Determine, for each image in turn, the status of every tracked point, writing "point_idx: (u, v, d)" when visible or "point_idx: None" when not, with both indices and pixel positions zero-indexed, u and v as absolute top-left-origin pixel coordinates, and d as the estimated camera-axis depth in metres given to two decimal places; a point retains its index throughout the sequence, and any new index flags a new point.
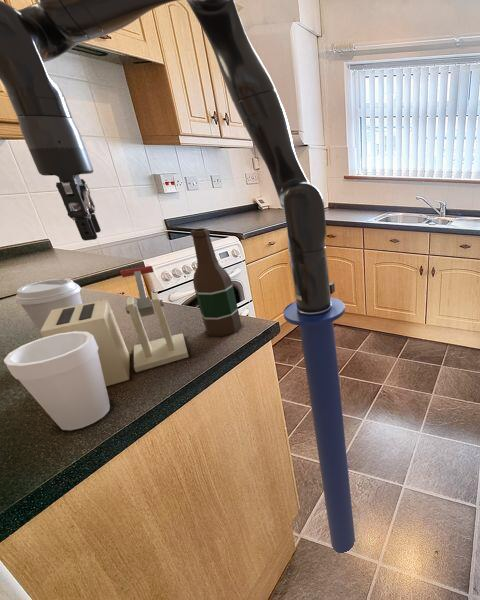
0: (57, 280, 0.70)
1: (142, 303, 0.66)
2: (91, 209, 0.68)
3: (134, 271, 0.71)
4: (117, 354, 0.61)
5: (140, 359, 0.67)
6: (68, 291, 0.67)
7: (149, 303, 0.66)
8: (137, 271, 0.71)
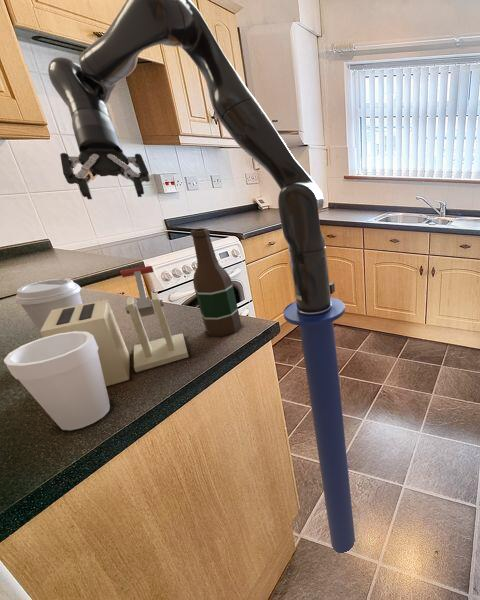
0: (57, 280, 0.70)
1: (142, 303, 0.66)
2: (131, 174, 0.75)
3: (134, 271, 0.71)
4: (117, 354, 0.61)
5: (140, 359, 0.67)
6: (68, 291, 0.67)
7: (149, 303, 0.66)
8: (137, 271, 0.71)
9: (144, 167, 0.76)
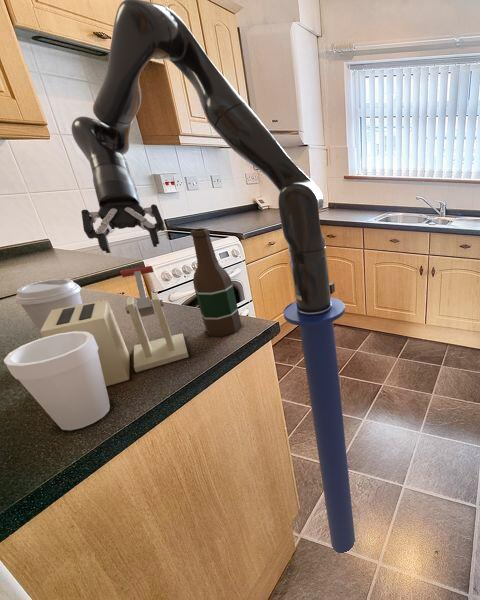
0: (57, 280, 0.70)
1: (142, 303, 0.66)
2: (147, 226, 0.77)
3: (134, 271, 0.71)
4: (117, 354, 0.61)
5: (140, 359, 0.67)
6: (68, 291, 0.67)
7: (149, 303, 0.66)
8: (137, 271, 0.71)
9: (159, 217, 0.79)
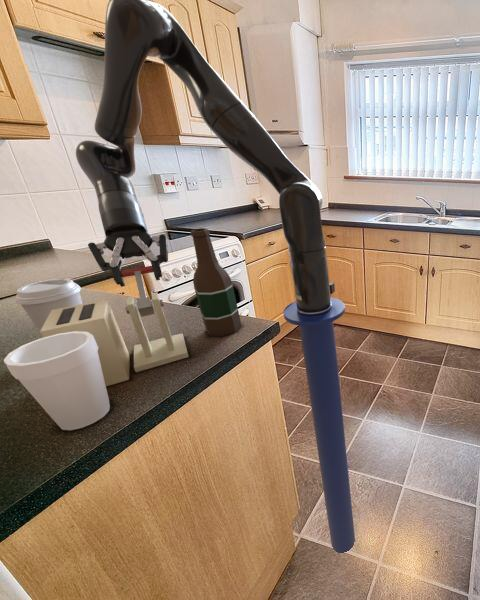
0: (57, 280, 0.70)
1: (142, 303, 0.66)
2: (149, 257, 0.73)
3: (134, 271, 0.71)
4: (117, 354, 0.61)
5: (140, 359, 0.67)
6: (68, 291, 0.67)
7: (149, 303, 0.66)
8: (137, 271, 0.71)
9: (164, 249, 0.75)
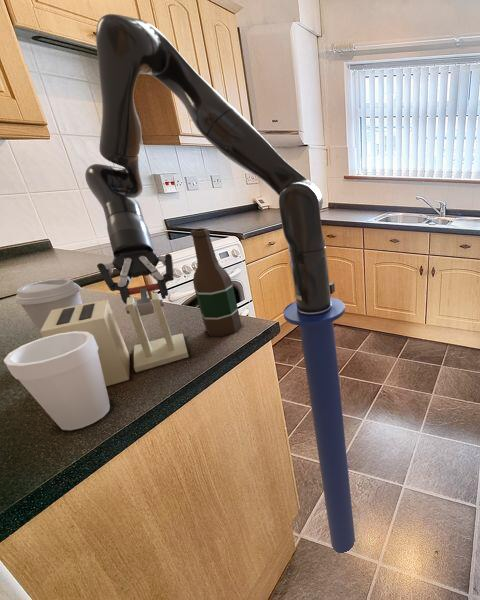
0: (57, 280, 0.70)
1: (142, 301, 0.66)
2: (156, 277, 0.76)
3: (140, 287, 0.74)
4: (117, 354, 0.61)
5: (140, 359, 0.67)
6: (68, 291, 0.67)
7: (148, 301, 0.66)
8: (143, 287, 0.74)
9: (170, 268, 0.78)
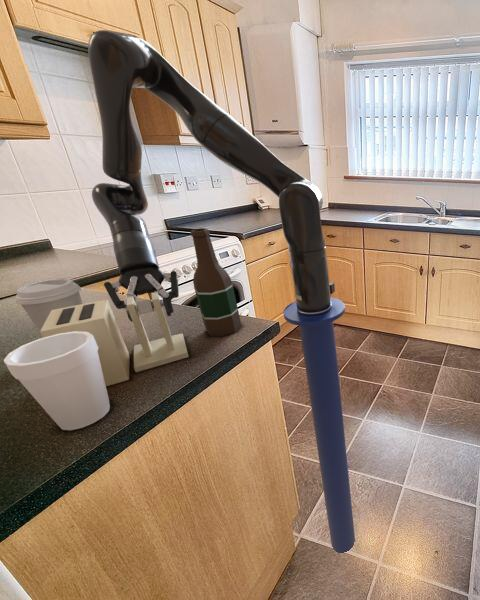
0: (57, 280, 0.70)
1: None
2: (161, 294, 0.77)
3: None
4: (117, 354, 0.61)
5: (140, 359, 0.67)
6: (68, 291, 0.67)
7: None
8: None
9: (175, 285, 0.79)
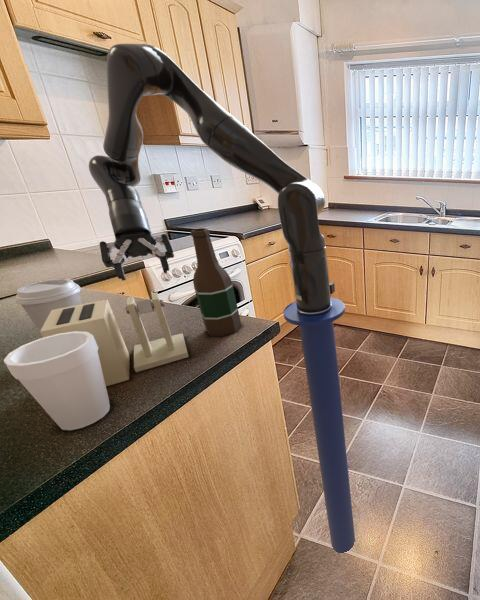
0: (57, 280, 0.70)
1: None
2: (158, 254, 0.85)
3: None
4: (117, 354, 0.61)
5: (140, 359, 0.67)
6: (68, 291, 0.67)
7: None
8: None
9: (169, 246, 0.87)
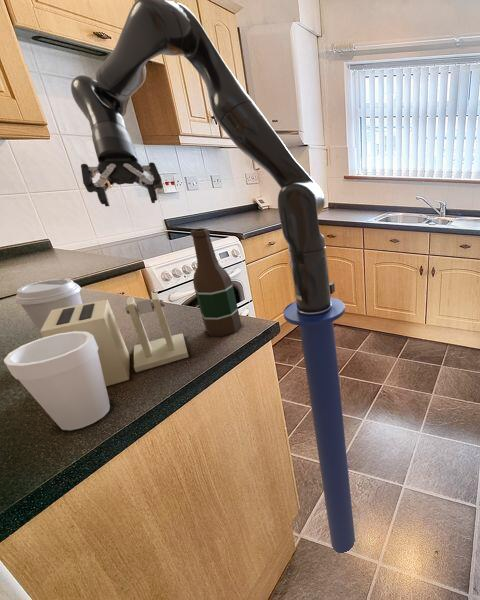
0: (57, 280, 0.70)
1: None
2: (145, 182, 0.79)
3: None
4: (117, 354, 0.61)
5: (140, 359, 0.67)
6: (68, 291, 0.67)
7: None
8: None
9: (157, 175, 0.81)
